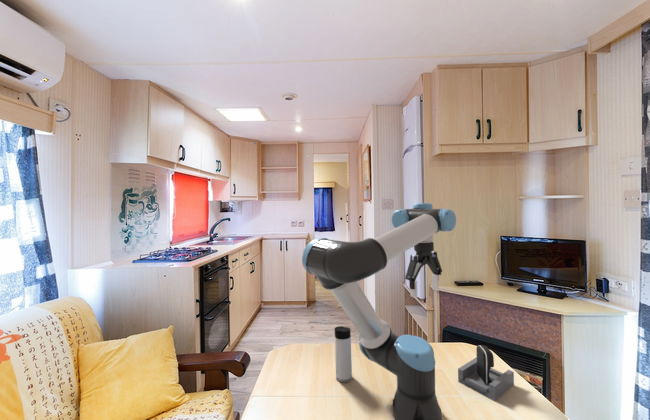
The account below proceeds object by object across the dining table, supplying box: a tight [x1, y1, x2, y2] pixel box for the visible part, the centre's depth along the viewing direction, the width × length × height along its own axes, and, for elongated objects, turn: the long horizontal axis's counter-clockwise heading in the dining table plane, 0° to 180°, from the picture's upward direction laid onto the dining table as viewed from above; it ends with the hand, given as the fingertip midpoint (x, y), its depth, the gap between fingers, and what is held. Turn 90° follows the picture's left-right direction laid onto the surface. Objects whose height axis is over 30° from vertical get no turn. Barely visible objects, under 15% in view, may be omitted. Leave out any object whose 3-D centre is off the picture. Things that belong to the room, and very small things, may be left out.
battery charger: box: [476, 344, 495, 384], centre depth 105 cm, size 7×4×11 cm, turn 173°
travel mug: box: [334, 325, 353, 383], centre depth 111 cm, size 6×7×20 cm
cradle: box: [457, 356, 515, 402], centre depth 105 cm, size 14×13×5 cm
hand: (424, 293), depth 115 cm, fingers open, 13 cm apart
